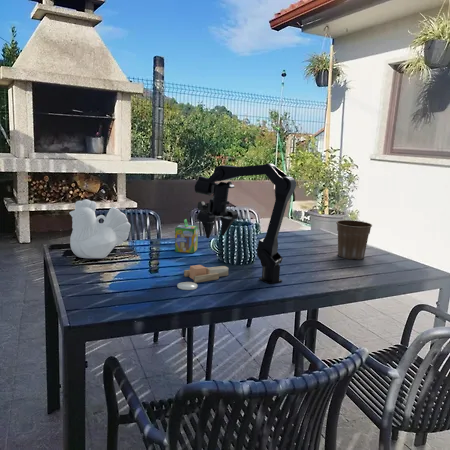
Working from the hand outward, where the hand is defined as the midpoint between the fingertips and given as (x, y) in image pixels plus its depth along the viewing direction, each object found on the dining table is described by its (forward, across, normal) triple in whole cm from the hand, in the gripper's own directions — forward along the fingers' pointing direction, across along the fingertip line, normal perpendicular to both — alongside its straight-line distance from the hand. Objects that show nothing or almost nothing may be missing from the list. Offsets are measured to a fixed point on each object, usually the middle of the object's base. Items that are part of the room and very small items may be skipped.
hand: (215, 236), depth 168 cm
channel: (+14, +11, +4) cm, 18 cm away
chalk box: (+16, -15, -28) cm, 36 cm away
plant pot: (+10, -66, +31) cm, 73 cm away
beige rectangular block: (+14, +4, +6) cm, 16 cm away
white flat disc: (+14, +22, +8) cm, 27 cm away
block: (+14, +12, +4) cm, 19 cm away
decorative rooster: (+18, +21, -43) cm, 51 cm away
